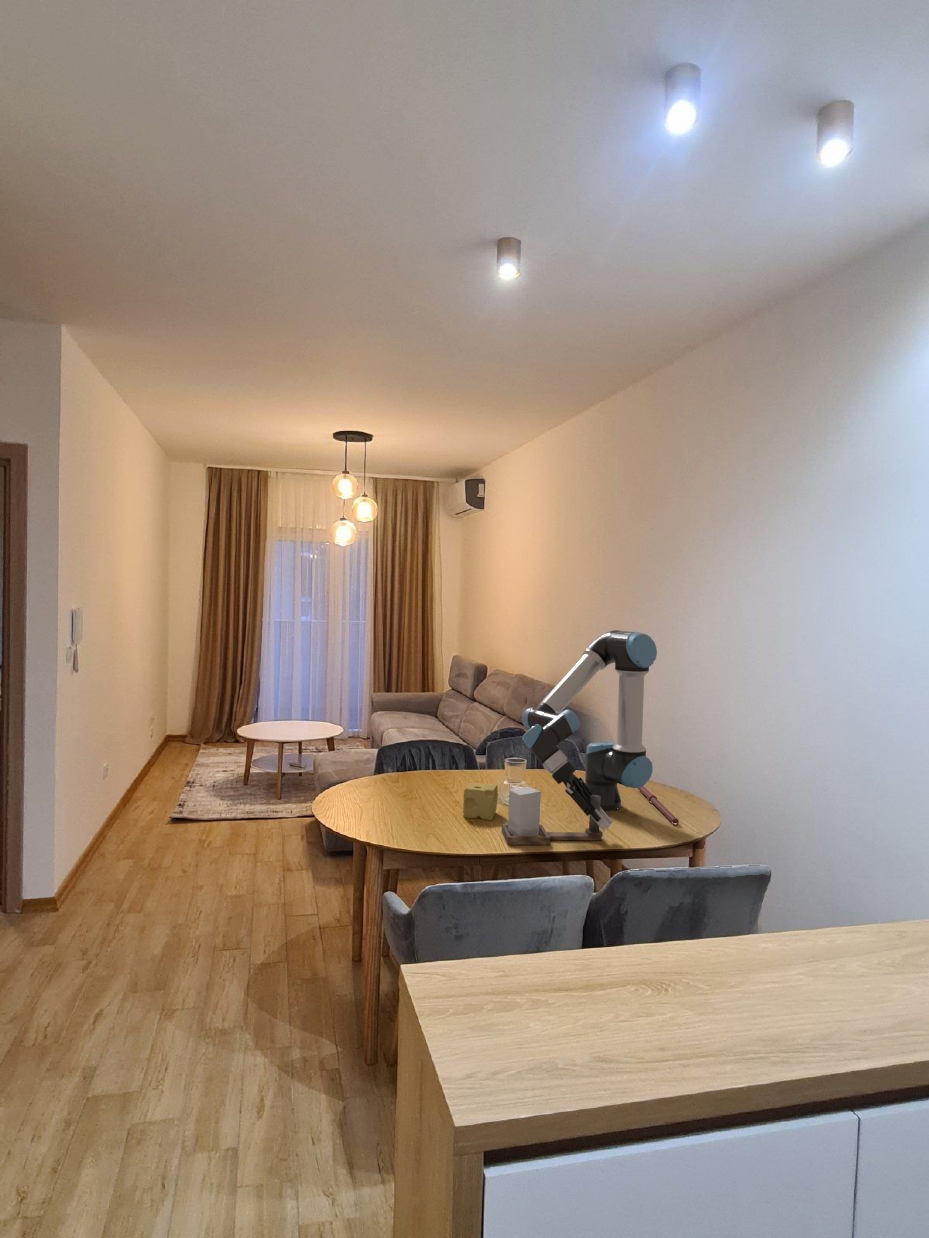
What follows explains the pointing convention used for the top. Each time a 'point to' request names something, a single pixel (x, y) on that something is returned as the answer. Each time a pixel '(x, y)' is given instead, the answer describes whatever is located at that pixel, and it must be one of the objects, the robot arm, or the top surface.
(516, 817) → the skincare box
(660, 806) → the reddish-brown rod
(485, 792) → the cheese
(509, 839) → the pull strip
